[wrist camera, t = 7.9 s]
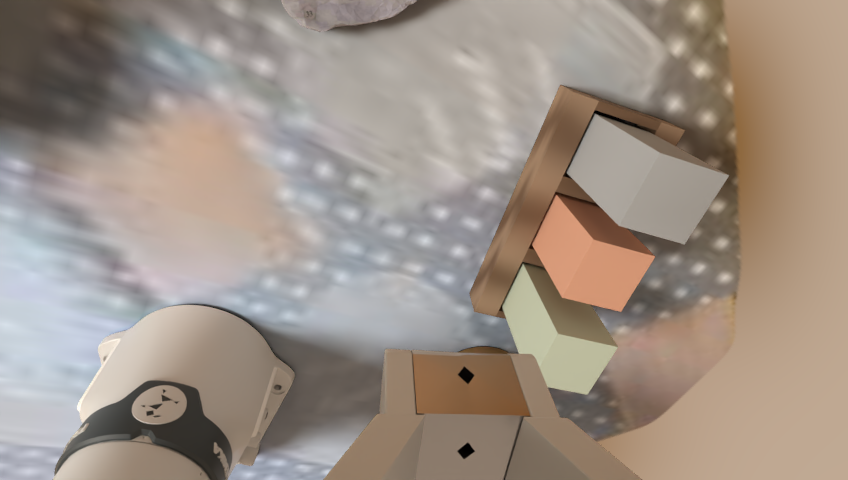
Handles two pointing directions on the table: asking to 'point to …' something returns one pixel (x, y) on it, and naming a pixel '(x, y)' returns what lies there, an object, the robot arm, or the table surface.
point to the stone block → (342, 12)
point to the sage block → (557, 331)
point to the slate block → (644, 179)
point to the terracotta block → (589, 253)
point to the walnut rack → (546, 189)
